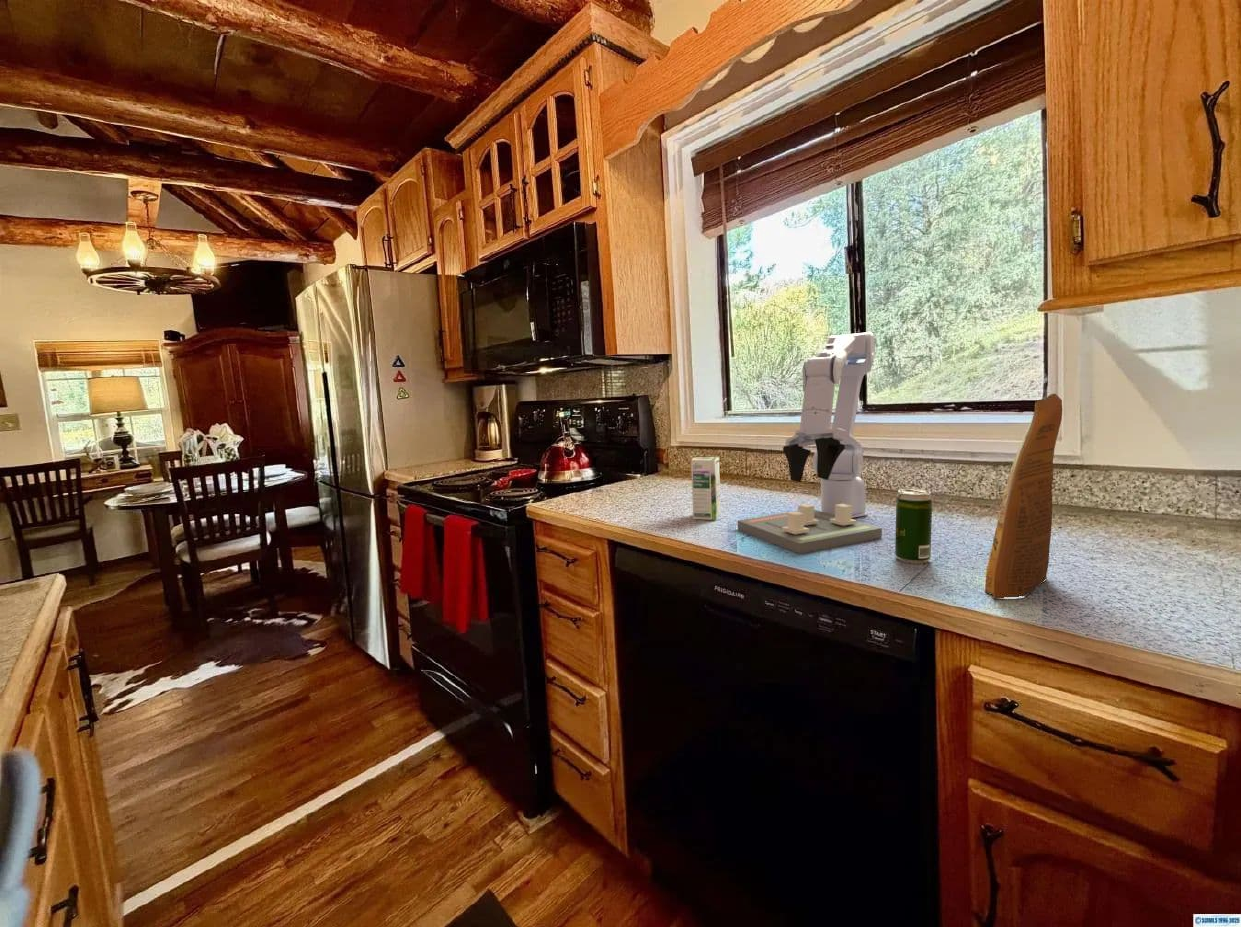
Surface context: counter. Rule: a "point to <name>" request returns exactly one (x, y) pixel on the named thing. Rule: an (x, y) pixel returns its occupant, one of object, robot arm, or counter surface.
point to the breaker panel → (818, 534)
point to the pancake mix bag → (1026, 509)
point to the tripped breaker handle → (808, 514)
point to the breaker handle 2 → (843, 515)
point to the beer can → (913, 526)
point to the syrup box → (705, 488)
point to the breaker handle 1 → (795, 523)
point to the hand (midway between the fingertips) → (808, 479)
